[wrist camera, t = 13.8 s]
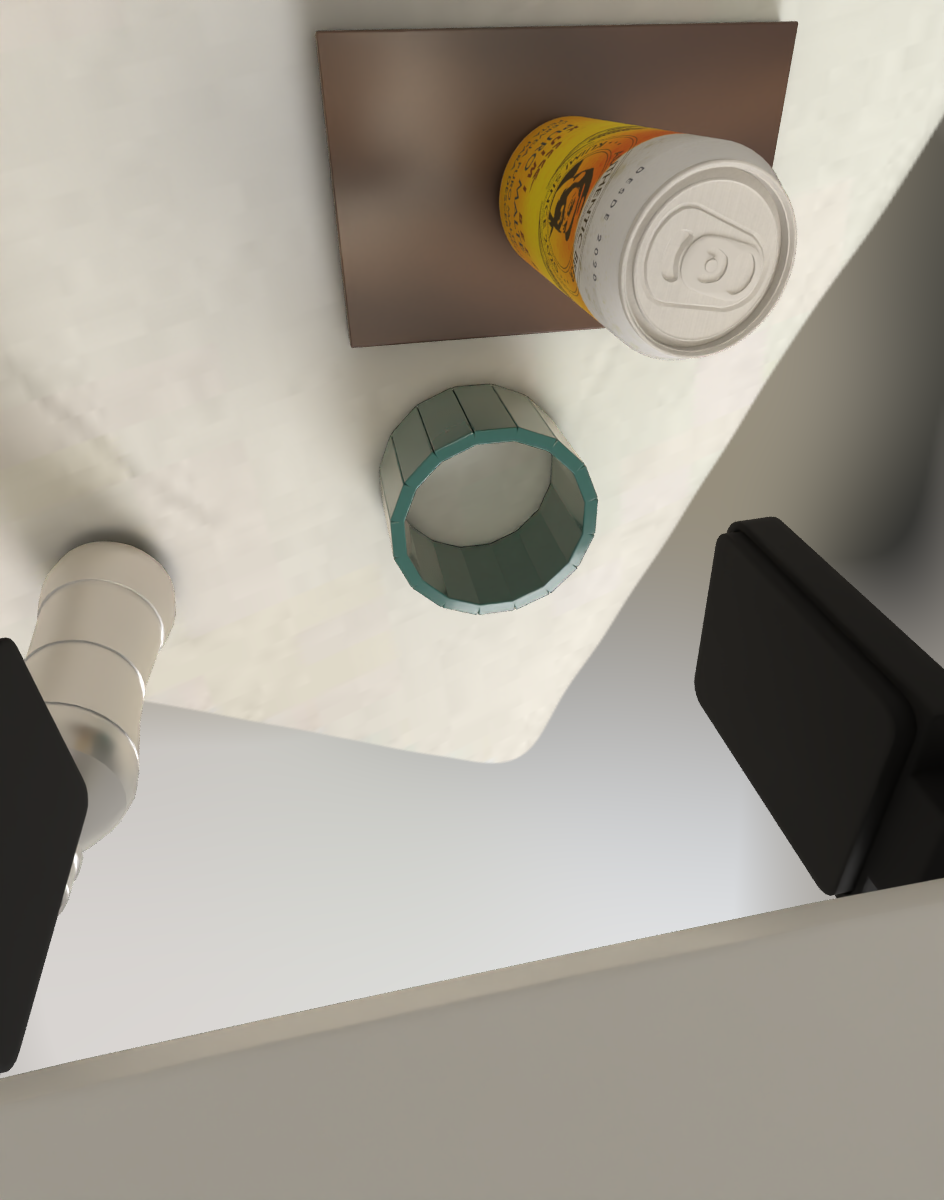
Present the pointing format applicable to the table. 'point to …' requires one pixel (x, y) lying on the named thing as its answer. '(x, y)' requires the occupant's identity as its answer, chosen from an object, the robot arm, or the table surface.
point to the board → (504, 151)
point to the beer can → (652, 231)
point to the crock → (515, 561)
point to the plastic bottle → (100, 669)
